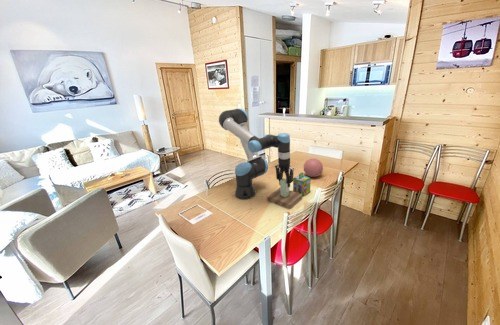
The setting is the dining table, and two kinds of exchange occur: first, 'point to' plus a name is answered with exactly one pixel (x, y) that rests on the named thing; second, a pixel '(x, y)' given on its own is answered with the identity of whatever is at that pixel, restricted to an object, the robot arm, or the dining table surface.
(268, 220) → the dining table surface
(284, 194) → the peg
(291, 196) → the socket board
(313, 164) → the pink ball
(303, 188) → the chalk box
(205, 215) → the photo frame
